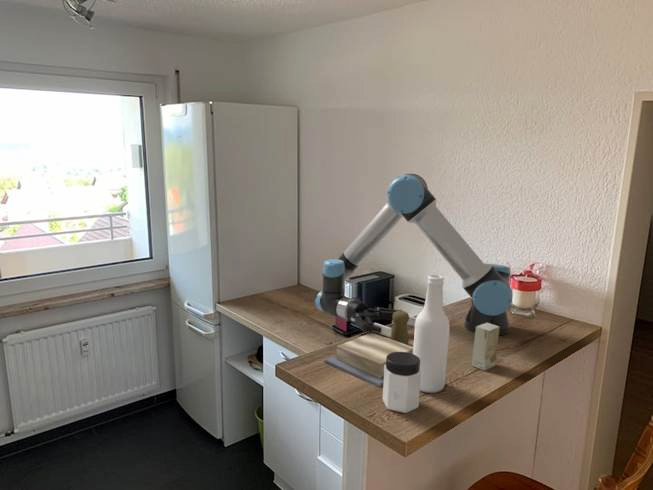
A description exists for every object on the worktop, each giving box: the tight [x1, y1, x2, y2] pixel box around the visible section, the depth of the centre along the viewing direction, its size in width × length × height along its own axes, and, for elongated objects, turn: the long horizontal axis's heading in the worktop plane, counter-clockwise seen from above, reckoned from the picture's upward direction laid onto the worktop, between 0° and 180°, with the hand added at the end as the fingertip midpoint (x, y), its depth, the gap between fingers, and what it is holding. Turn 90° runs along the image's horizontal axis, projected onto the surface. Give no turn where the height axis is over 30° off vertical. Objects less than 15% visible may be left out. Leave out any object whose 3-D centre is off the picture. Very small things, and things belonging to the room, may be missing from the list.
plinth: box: [323, 331, 413, 387], centre depth 144 cm, size 22×20×5 cm
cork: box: [390, 310, 410, 346], centre depth 157 cm, size 6×6×11 cm
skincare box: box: [471, 323, 500, 371], centre depth 143 cm, size 6×4×12 cm
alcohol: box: [412, 274, 451, 394], centre depth 128 cm, size 9×9×30 cm
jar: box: [382, 352, 421, 414], centre depth 120 cm, size 9×8×12 cm
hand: (403, 327), depth 155 cm, fingers open, 13 cm apart
